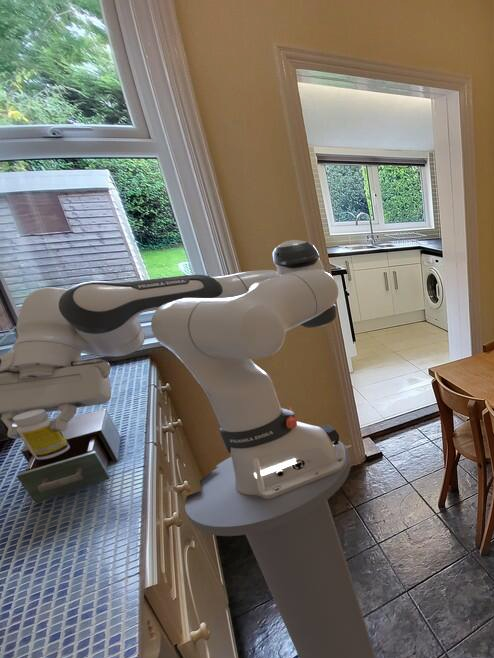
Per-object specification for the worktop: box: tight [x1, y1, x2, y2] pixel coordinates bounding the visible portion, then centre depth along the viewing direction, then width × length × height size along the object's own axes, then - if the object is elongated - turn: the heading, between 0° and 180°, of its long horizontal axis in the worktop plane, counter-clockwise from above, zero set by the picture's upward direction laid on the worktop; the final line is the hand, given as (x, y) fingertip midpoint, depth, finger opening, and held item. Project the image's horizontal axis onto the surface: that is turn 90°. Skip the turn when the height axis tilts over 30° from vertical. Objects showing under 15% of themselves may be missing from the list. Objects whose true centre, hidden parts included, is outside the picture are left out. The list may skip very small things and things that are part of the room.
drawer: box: [16, 434, 111, 504], centre depth 87 cm, size 18×11×7 cm, turn 39°
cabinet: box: [20, 408, 122, 465], centre depth 97 cm, size 15×13×9 cm
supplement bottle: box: [13, 409, 70, 460], centre depth 75 cm, size 5×5×8 cm
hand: (37, 434), depth 75 cm, fingers closed on supplement bottle, 5 cm apart
